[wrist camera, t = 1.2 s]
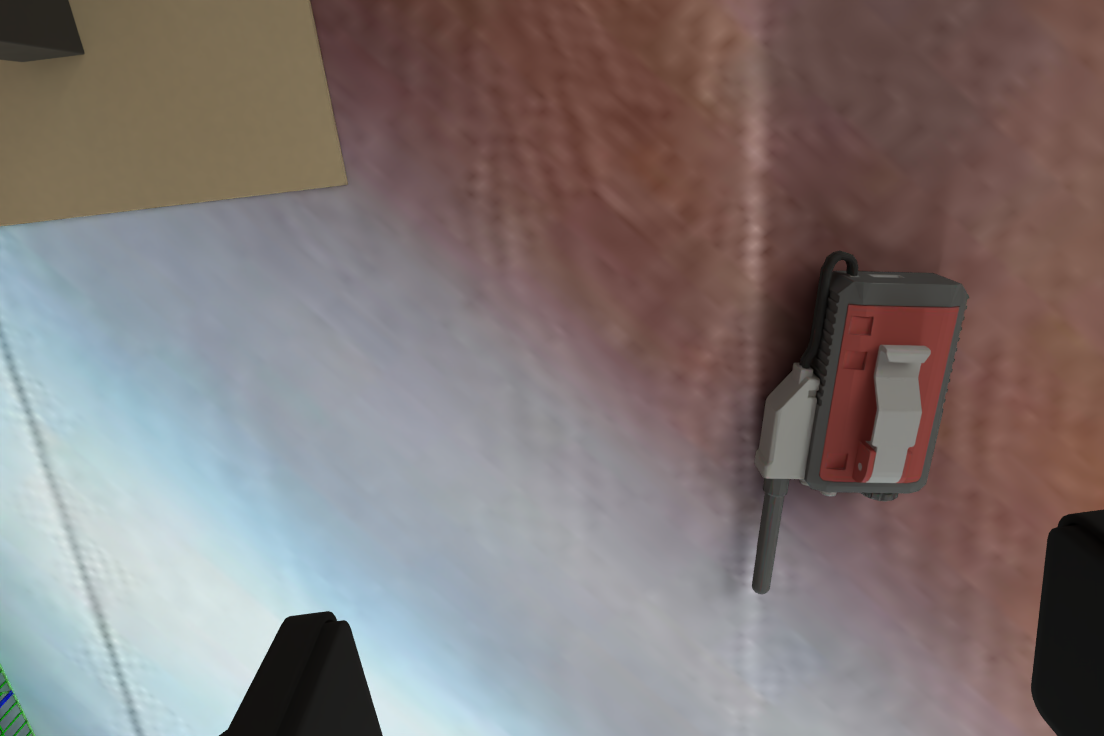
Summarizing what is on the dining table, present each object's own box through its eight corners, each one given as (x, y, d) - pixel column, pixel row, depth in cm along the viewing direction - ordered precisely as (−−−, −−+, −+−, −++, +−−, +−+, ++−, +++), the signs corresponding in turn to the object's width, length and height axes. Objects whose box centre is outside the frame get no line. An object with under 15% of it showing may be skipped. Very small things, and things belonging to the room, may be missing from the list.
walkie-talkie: (780, 245, 35) (735, 578, 42) (812, 261, 31) (756, 627, 38) (950, 249, 36) (879, 580, 42) (1005, 266, 32) (916, 630, 38)
